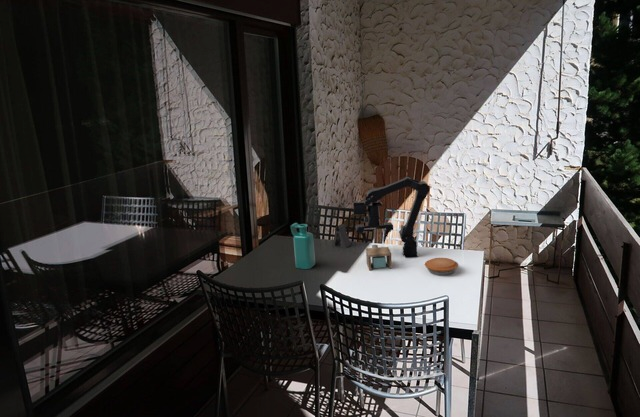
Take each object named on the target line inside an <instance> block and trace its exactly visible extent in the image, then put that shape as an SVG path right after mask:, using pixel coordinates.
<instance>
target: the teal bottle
mask: <svg viewBox="0 0 640 417" xmlns="http://www.w3.org/2000/svg"><path fill="white" fill-rule="evenodd" d="M289 227H290V231H291V234H292V236H293V248H294V249H293V250H294V263H295V268H296V269H300V270H310V269H312V268H314V266H315V265H316V257H315V256H316V255H315V254H316V253H315V242H314V241H315V240H314V234H313V233H311V232H308V231H307V227H309V226H308V224H307V223H300V224H299V223H298V222H294V223H293V224H291V225H290V226H289ZM297 229H298V230H297Z"/></svg>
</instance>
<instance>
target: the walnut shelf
mask: <svg viewBox="0 0 640 417" xmlns="http://www.w3.org/2000/svg"><path fill="white" fill-rule="evenodd" d="M365 249H366V250H365V254H366V256H365V257H366V265H367V268H368V271H372V257H376V256H385V257H386V264H387V267H388V268H389V270H393V264H392V263H393V261H392V252H391V250H390V248H389V246H381V247H379V246H378V248H372V247H368V248H365Z"/></svg>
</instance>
